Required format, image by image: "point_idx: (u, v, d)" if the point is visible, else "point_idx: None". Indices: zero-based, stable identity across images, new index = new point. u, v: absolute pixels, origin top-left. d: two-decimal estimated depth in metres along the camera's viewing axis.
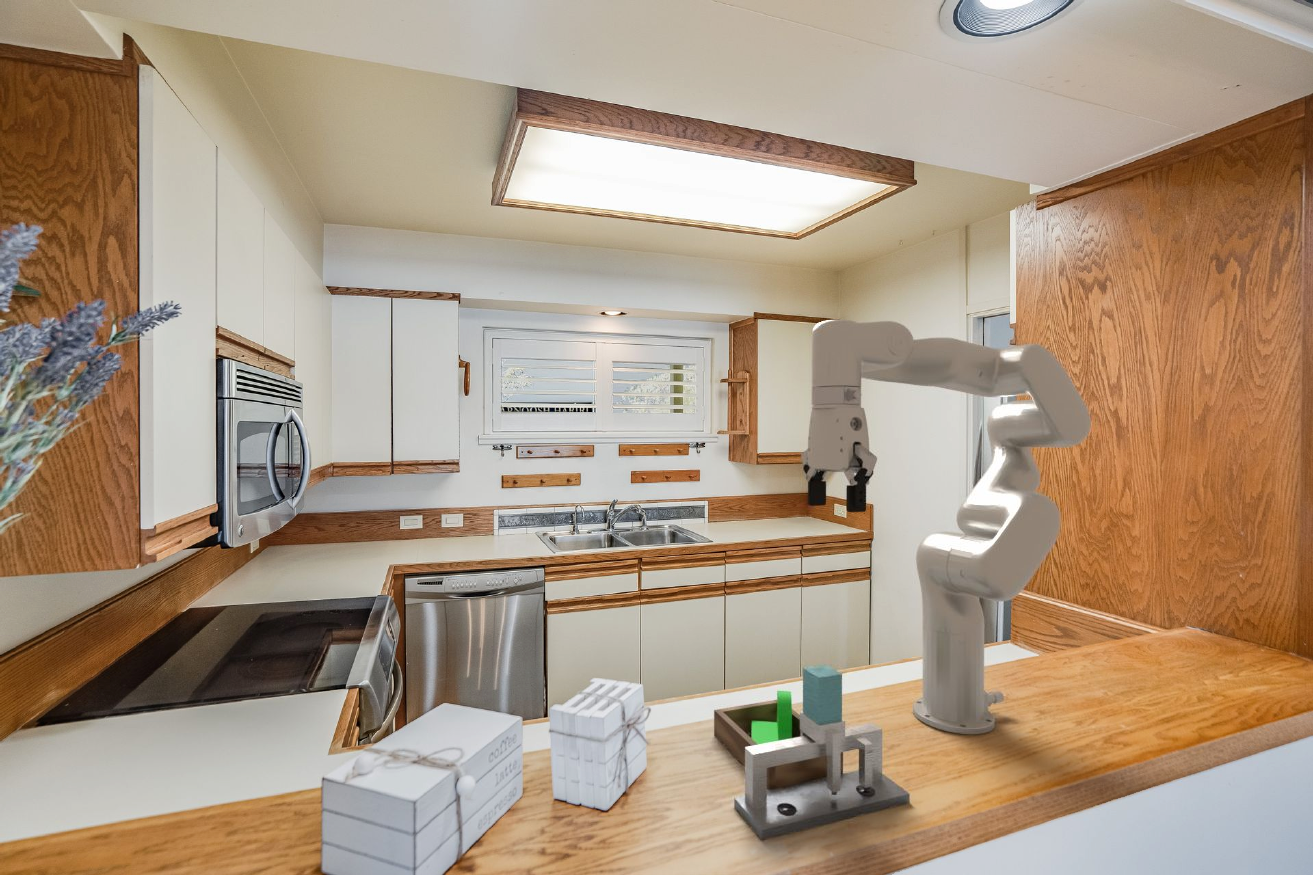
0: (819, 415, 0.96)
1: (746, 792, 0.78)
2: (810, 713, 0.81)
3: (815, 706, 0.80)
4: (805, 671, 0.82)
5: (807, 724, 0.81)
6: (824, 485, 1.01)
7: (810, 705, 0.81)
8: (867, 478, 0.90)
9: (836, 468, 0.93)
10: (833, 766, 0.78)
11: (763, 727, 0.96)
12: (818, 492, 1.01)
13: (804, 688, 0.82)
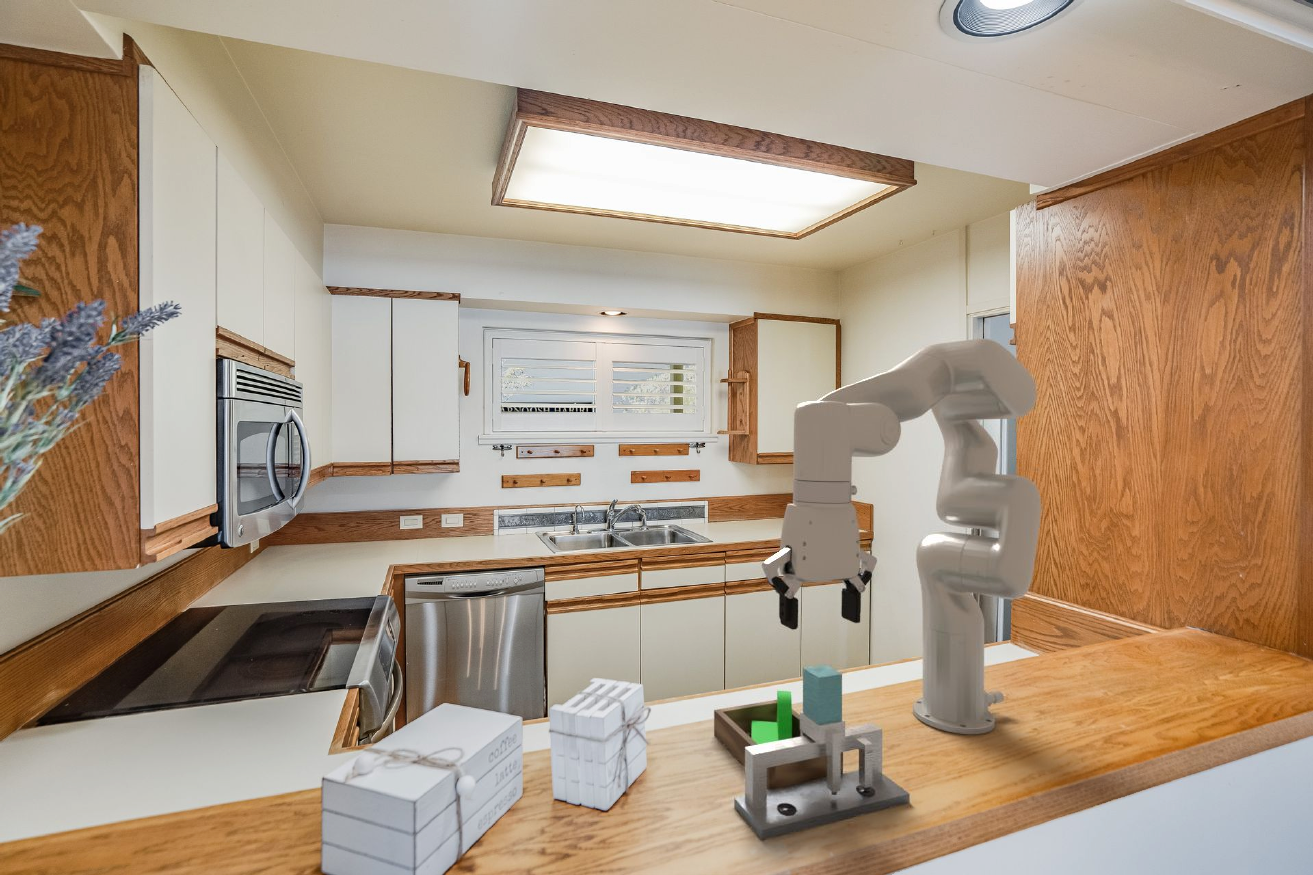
0: (828, 515, 0.79)
1: (746, 792, 0.78)
2: (810, 713, 0.81)
3: (815, 706, 0.80)
4: (805, 671, 0.82)
5: (807, 724, 0.81)
6: None
7: (810, 705, 0.81)
8: None
9: (847, 576, 0.80)
10: (833, 766, 0.78)
11: (763, 727, 0.96)
12: None
13: (804, 688, 0.82)
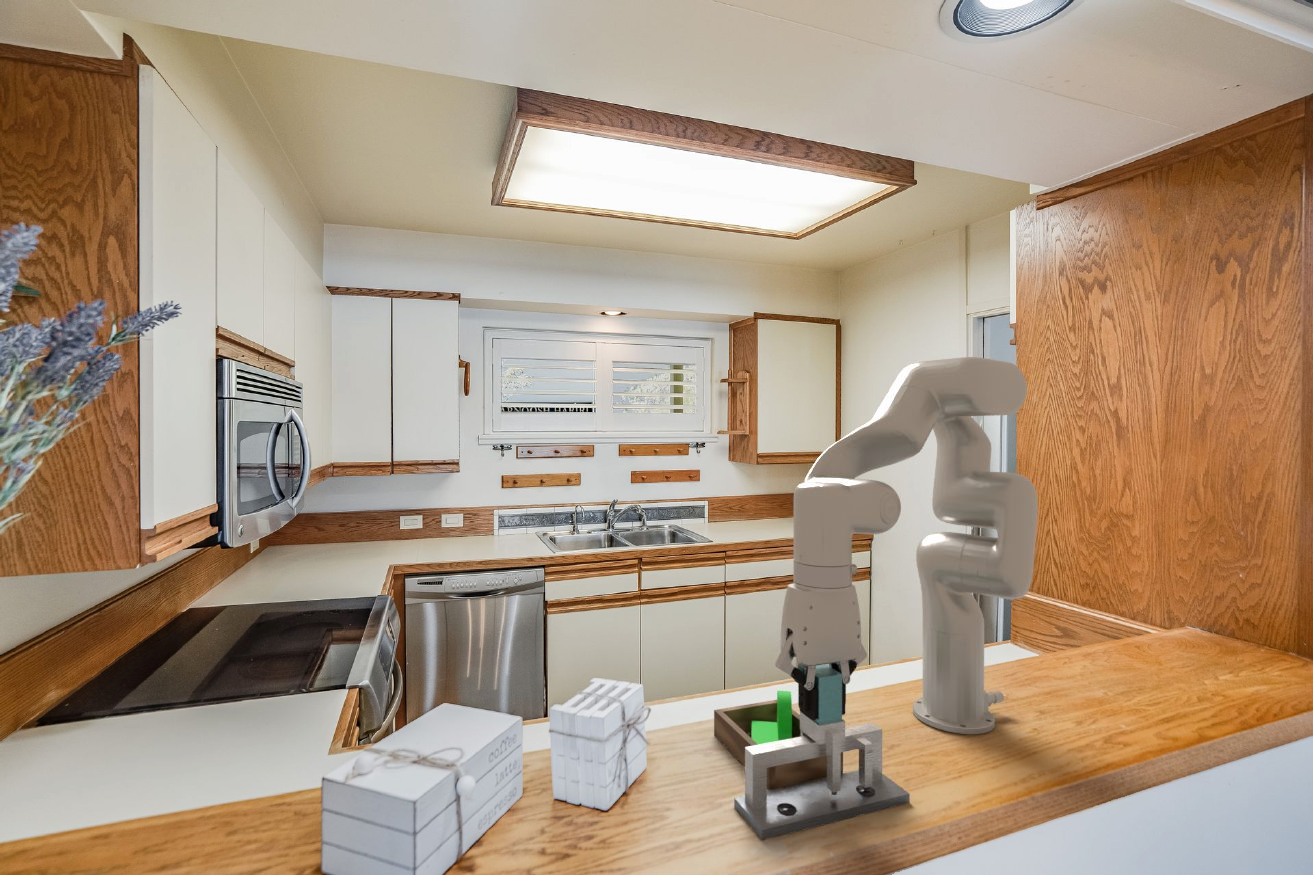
0: (829, 599, 0.79)
1: (746, 792, 0.78)
2: None
3: None
4: None
5: (807, 724, 0.81)
6: None
7: None
8: None
9: (848, 658, 0.80)
10: (833, 766, 0.78)
11: (763, 727, 0.96)
12: None
13: None
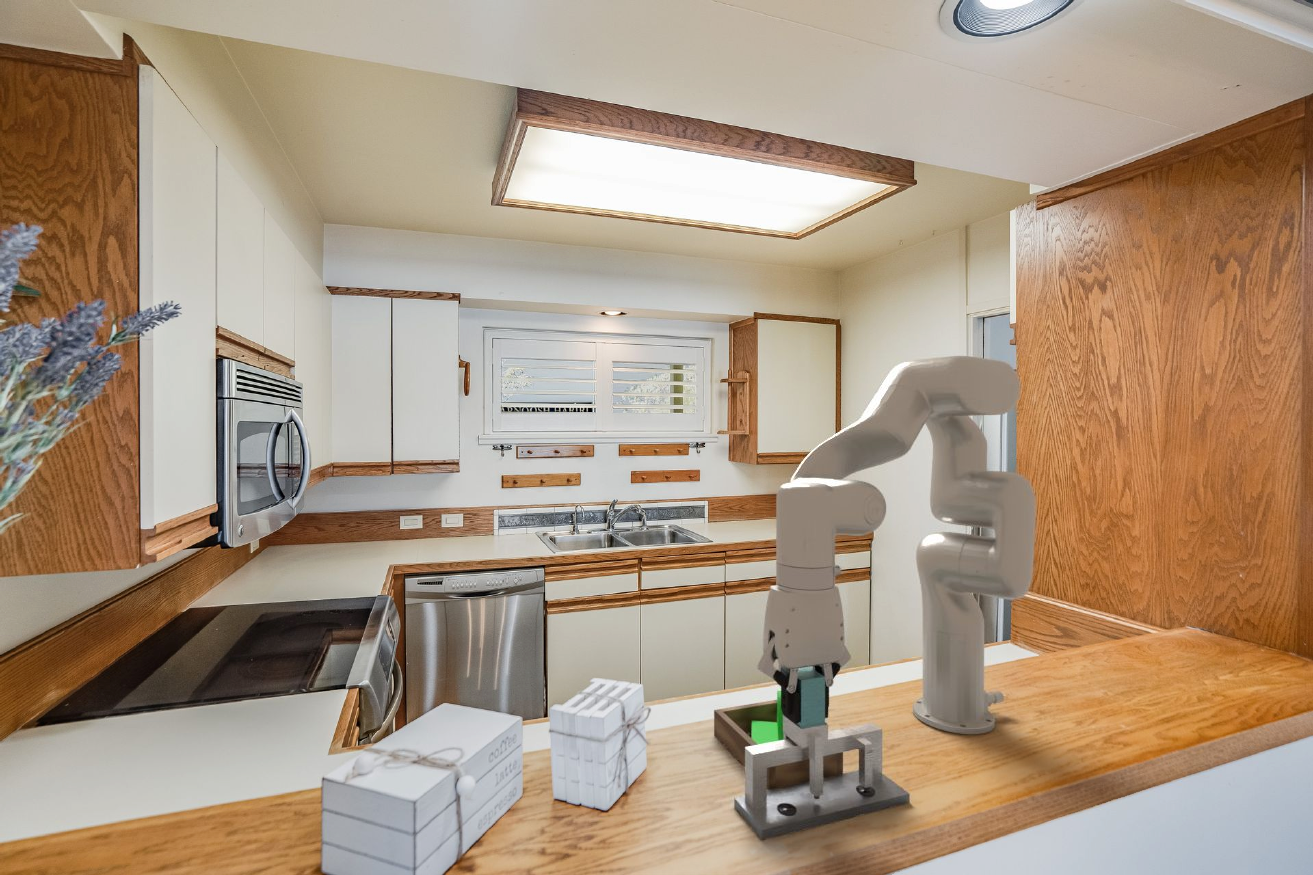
0: (811, 601, 0.78)
1: (746, 792, 0.78)
2: None
3: None
4: None
5: (790, 728, 0.80)
6: None
7: None
8: None
9: (831, 660, 0.80)
10: (816, 770, 0.77)
11: (763, 727, 0.96)
12: None
13: None
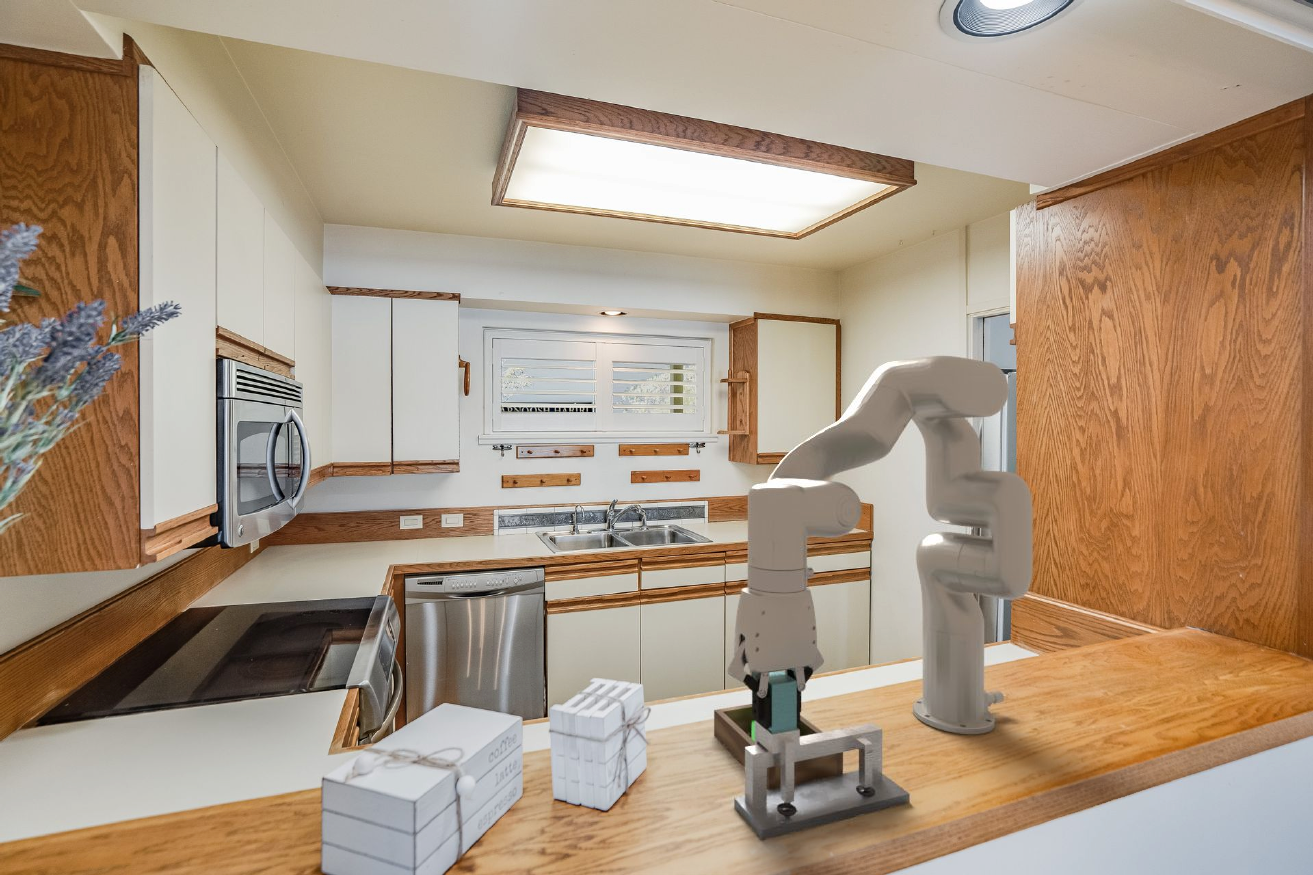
0: (782, 604, 0.76)
1: (746, 792, 0.78)
2: None
3: None
4: None
5: (761, 733, 0.79)
6: None
7: None
8: None
9: (803, 665, 0.78)
10: (786, 776, 0.76)
11: None
12: None
13: None
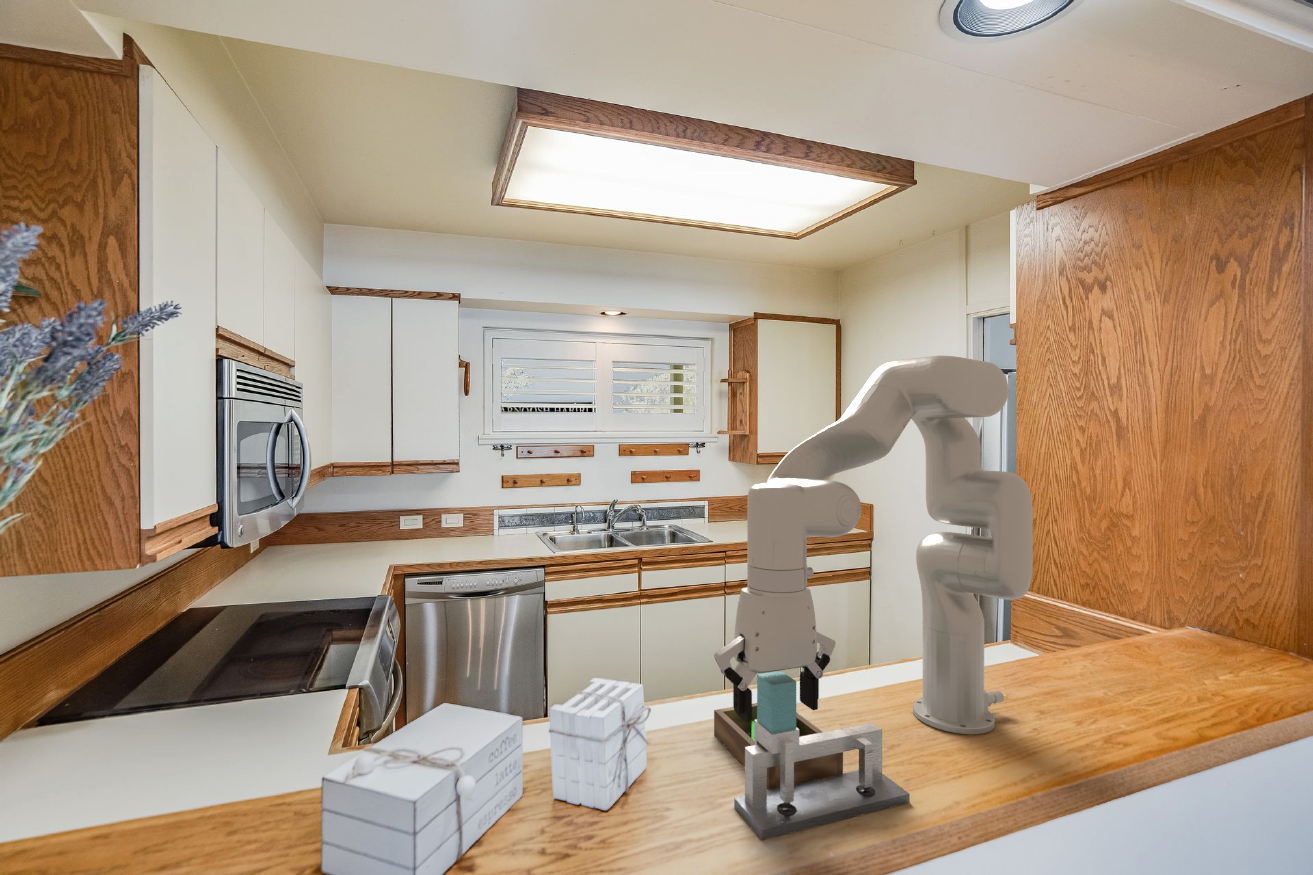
0: (782, 603, 0.76)
1: (746, 792, 0.78)
2: (764, 721, 0.78)
3: (768, 714, 0.77)
4: (759, 678, 0.79)
5: (760, 733, 0.79)
6: None
7: (764, 713, 0.78)
8: None
9: (803, 664, 0.78)
10: (786, 776, 0.76)
11: None
12: None
13: (758, 695, 0.80)
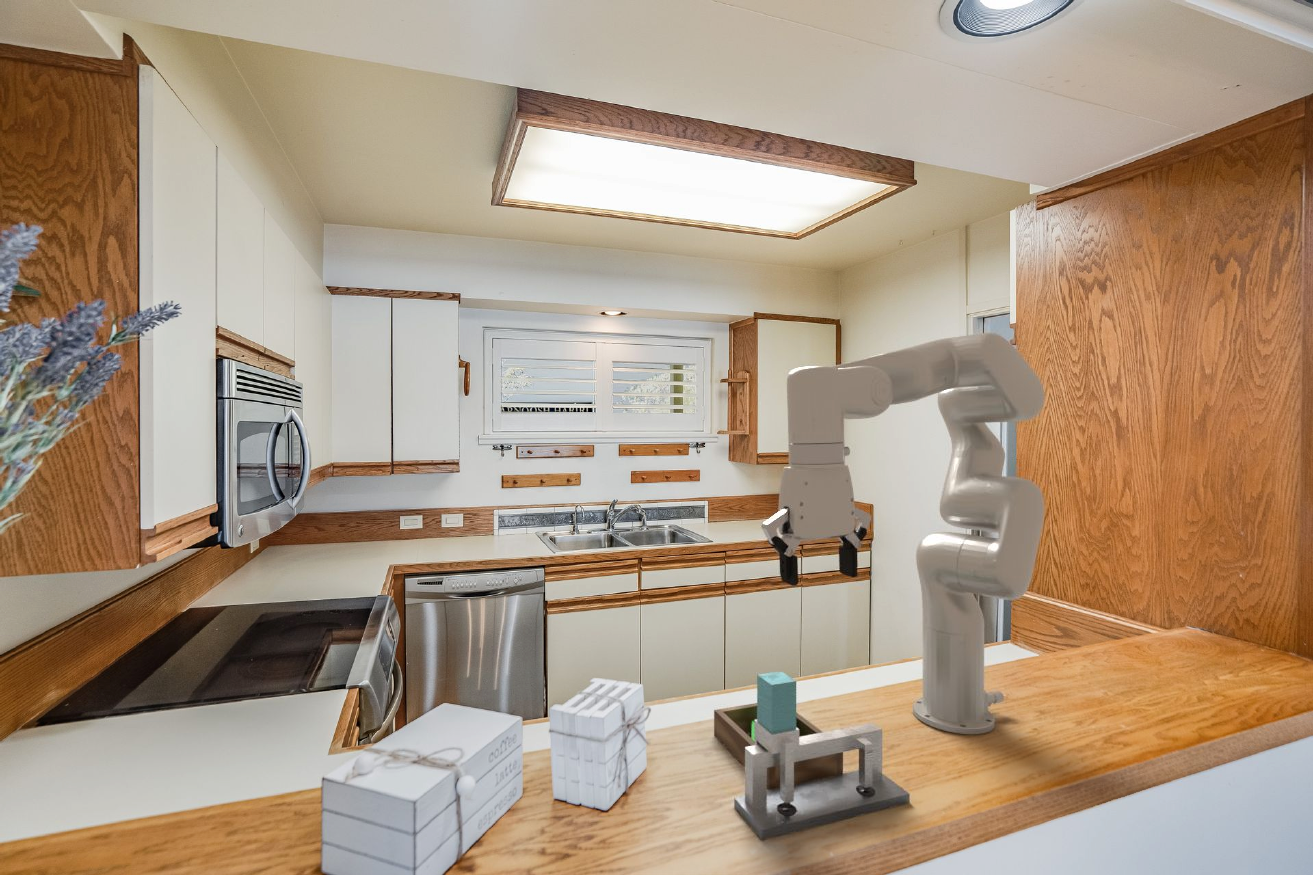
0: (823, 475, 0.82)
1: (746, 792, 0.78)
2: (764, 721, 0.78)
3: (768, 714, 0.77)
4: (759, 678, 0.79)
5: (760, 733, 0.79)
6: None
7: (764, 713, 0.78)
8: None
9: (843, 533, 0.84)
10: (786, 776, 0.76)
11: None
12: None
13: (758, 695, 0.80)
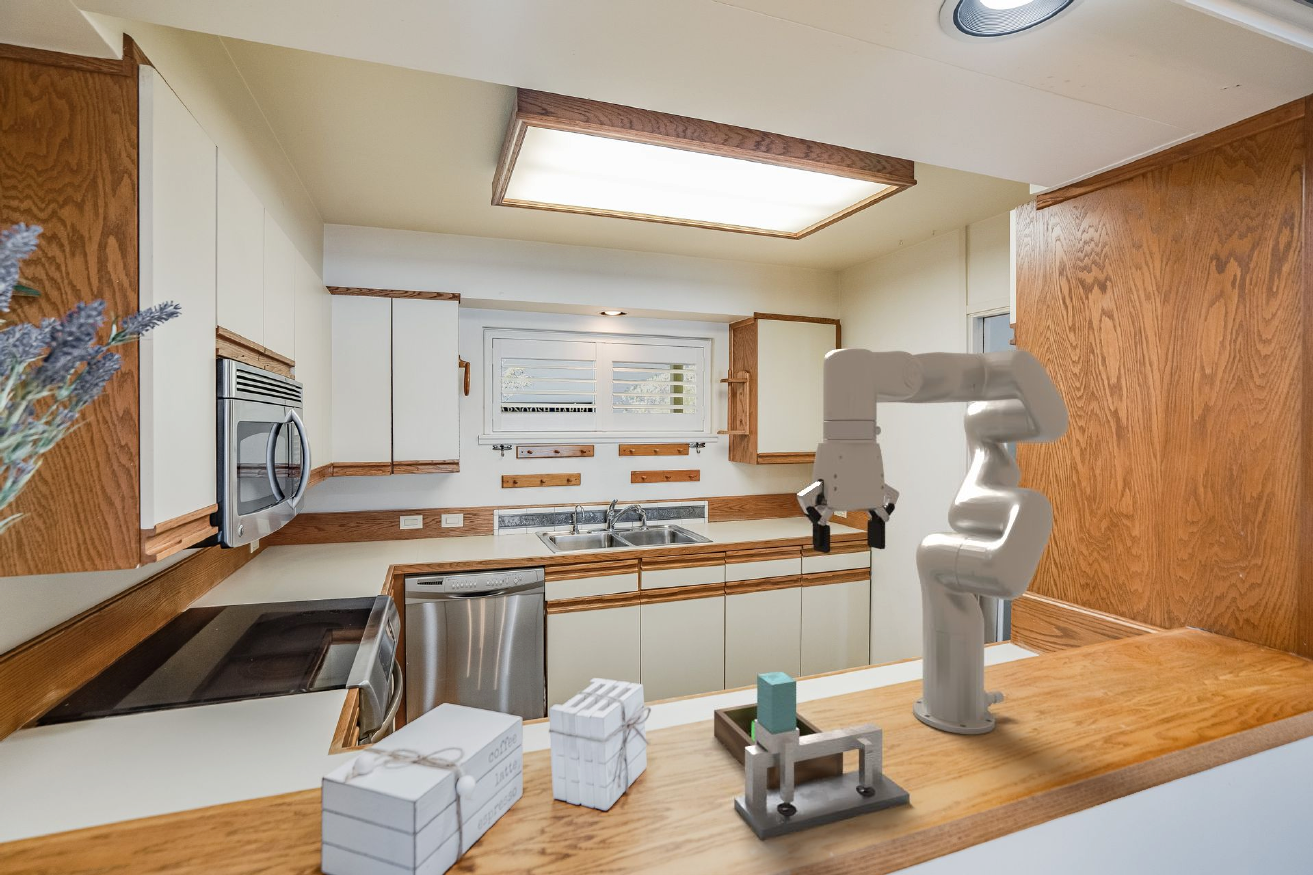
0: (856, 451, 0.88)
1: (746, 792, 0.78)
2: (764, 721, 0.78)
3: (768, 714, 0.77)
4: (759, 678, 0.79)
5: (760, 733, 0.79)
6: None
7: (764, 713, 0.78)
8: None
9: (873, 507, 0.89)
10: (786, 776, 0.76)
11: None
12: None
13: (758, 695, 0.80)
